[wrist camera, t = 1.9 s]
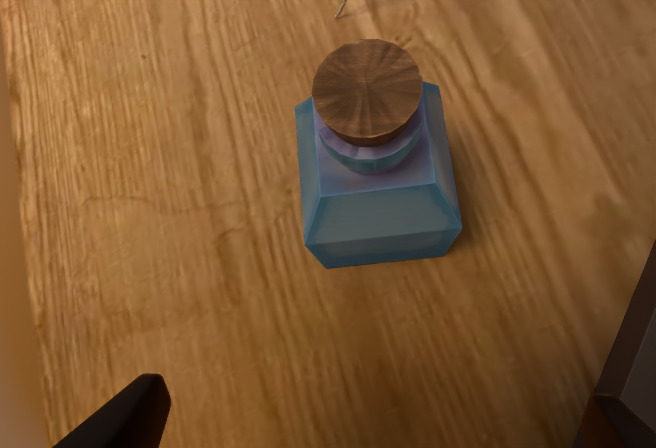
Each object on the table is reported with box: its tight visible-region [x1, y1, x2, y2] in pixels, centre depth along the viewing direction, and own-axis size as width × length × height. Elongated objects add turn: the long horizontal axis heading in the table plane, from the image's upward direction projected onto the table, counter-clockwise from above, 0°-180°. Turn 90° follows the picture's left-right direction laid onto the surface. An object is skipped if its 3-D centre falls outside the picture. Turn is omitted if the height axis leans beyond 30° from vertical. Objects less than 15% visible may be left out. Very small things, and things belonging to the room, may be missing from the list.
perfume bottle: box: [295, 39, 463, 269], centre depth 18 cm, size 6×6×12 cm
